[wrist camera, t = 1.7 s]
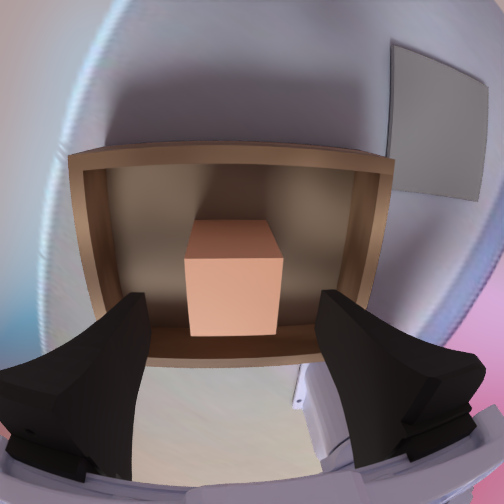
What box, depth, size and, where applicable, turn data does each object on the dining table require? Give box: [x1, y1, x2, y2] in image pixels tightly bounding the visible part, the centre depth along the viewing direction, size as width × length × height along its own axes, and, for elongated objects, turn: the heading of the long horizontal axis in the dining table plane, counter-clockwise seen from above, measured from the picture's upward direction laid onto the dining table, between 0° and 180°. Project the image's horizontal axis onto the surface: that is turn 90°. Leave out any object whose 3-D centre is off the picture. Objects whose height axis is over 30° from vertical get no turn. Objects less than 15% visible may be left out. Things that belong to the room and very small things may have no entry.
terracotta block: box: [184, 220, 283, 336], centre depth 15 cm, size 4×4×5 cm
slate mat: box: [386, 45, 488, 202], centre depth 16 cm, size 10×10×1 cm
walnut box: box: [68, 141, 395, 368], centre depth 17 cm, size 13×16×4 cm
